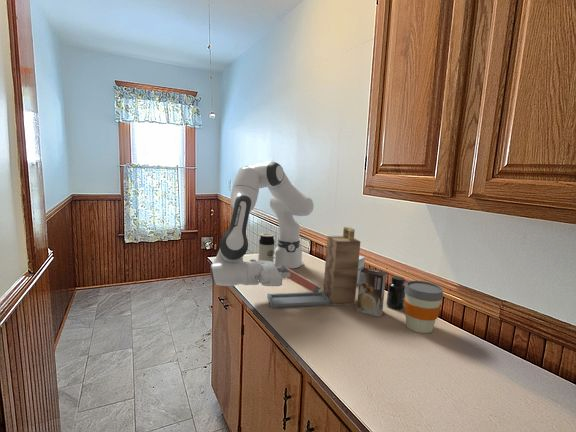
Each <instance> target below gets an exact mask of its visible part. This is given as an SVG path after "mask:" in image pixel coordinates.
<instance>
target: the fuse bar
mask: <svg viewBox="0 0 576 432" xmlns="http://www.w3.org/2000/svg"><path fill="white" fill-rule="evenodd" d="M279 272H282V273H284V272H290V277H285V278H286V279H289V280H290V281H292V282H294V283H295V284H297V285H299V286H301V287H303V288H304V289H307V290H308V291H309V292H313V293H315V294H317V293H318V292H320V290H321V287H320V286H319V285H318V284H317V283H315V282H314V281H312V280H310V279H308V278H306V277H304V276H303V275H301V274H299V273H298V272H295V271H294V270H293V269H291V268H287V267H285V266H283V265H282V267H281V268H280V270H279Z"/></svg>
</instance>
